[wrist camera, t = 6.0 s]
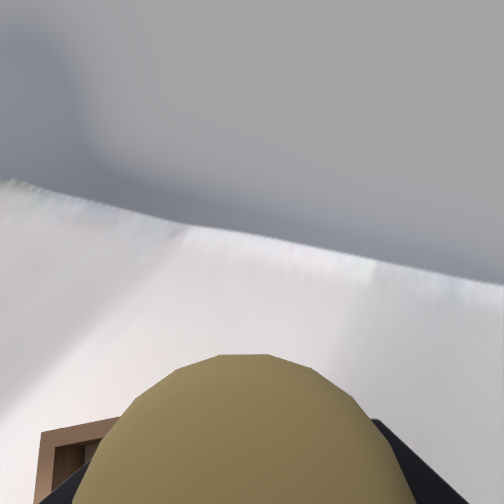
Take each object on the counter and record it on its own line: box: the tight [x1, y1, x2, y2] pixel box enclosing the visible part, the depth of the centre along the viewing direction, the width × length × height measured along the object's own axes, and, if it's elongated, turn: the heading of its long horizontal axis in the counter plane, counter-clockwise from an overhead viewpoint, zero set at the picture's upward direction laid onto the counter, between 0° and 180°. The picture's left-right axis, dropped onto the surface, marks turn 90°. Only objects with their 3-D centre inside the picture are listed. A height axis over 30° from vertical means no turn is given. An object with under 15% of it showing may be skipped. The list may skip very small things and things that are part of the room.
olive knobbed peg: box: [72, 354, 417, 504], centre depth 9 cm, size 6×6×11 cm
